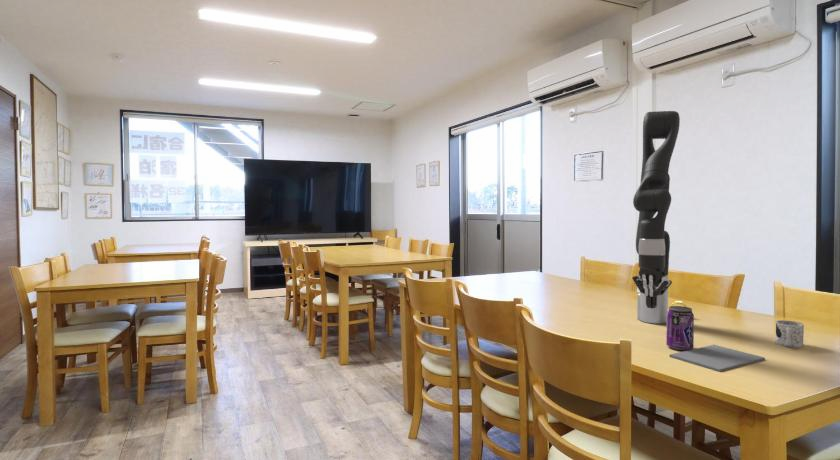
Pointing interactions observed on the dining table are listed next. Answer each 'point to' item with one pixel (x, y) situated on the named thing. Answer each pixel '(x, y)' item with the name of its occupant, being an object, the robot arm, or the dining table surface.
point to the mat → (717, 357)
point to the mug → (789, 333)
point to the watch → (679, 303)
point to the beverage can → (680, 328)
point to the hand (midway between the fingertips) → (651, 307)
